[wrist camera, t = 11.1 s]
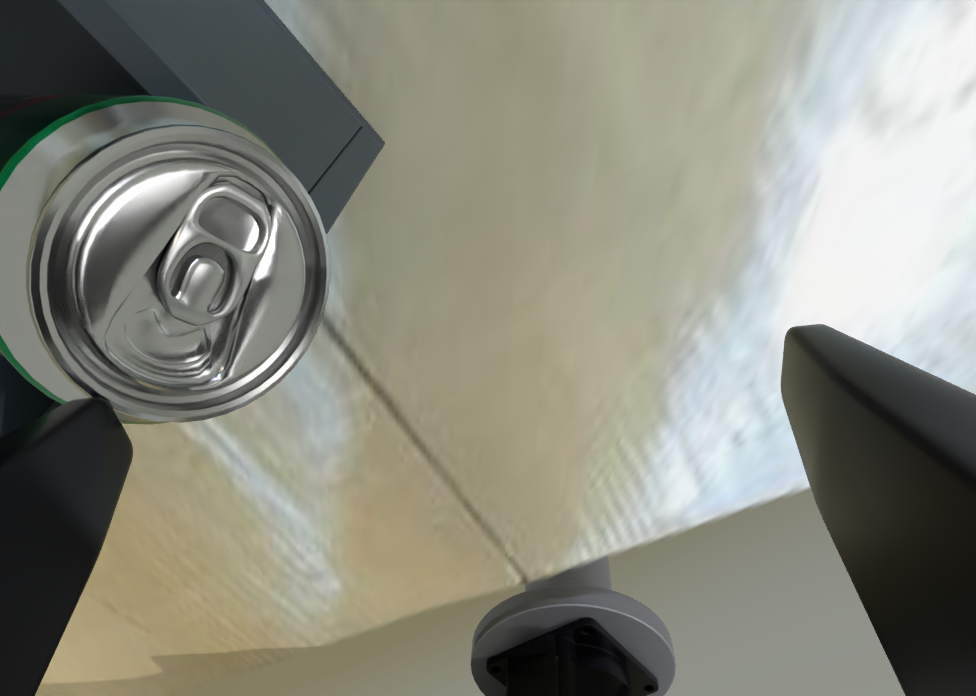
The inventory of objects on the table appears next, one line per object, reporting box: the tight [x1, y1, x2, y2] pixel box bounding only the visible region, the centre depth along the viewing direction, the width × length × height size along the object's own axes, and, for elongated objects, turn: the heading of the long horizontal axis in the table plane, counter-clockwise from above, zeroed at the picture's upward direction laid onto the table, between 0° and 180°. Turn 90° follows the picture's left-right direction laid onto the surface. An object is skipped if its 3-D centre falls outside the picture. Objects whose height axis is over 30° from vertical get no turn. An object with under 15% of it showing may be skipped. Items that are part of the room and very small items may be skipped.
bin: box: [0, 0, 385, 438], centre depth 17 cm, size 13×13×6 cm
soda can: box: [0, 94, 330, 424], centre depth 14 cm, size 5×5×12 cm
